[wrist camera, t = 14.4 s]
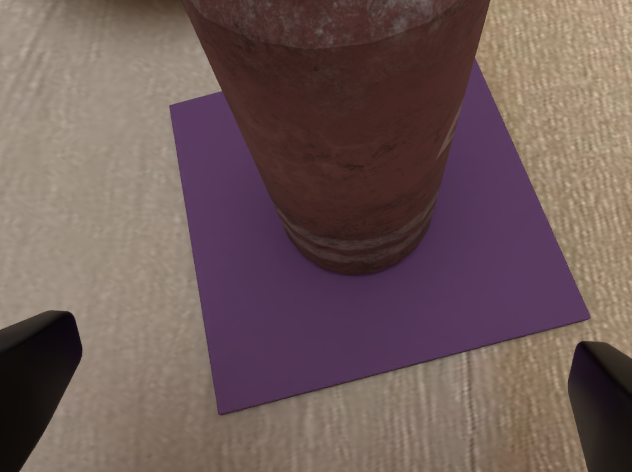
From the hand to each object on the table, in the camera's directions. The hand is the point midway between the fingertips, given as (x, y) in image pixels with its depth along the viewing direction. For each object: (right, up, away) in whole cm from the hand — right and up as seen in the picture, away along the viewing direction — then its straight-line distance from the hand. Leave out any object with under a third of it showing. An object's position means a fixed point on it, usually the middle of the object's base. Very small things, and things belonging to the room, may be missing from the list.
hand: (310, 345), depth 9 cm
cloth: (+2, +3, +12) cm, 13 cm away
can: (+2, +3, +12) cm, 13 cm away
